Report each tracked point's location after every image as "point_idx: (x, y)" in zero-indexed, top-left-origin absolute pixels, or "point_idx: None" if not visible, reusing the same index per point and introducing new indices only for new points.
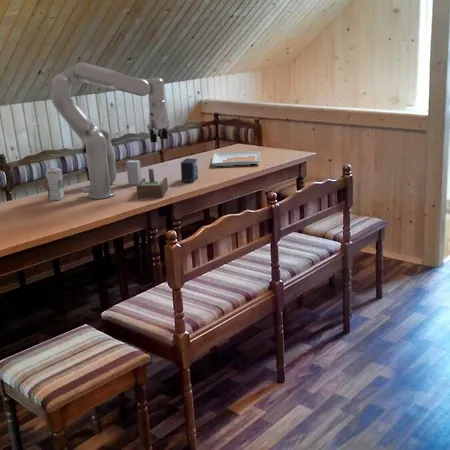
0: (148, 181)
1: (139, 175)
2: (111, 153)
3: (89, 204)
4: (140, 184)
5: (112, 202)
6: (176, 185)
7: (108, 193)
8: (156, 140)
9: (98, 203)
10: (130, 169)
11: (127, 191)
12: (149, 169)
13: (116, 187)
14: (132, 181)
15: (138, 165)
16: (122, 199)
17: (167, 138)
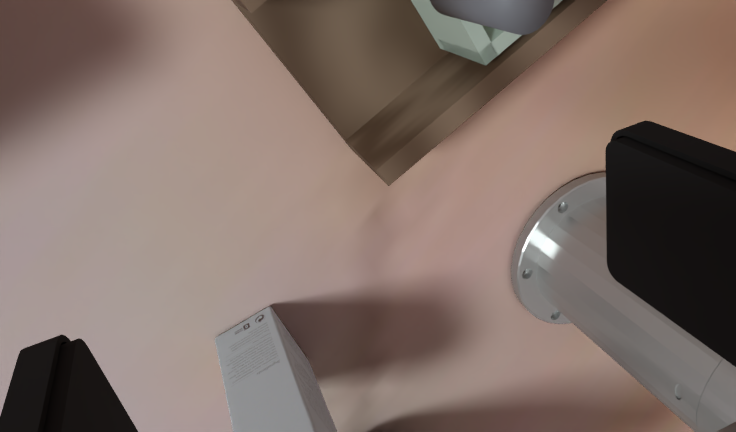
0: (465, 24)
1: (260, 362)
2: None
3: (729, 141)
4: (557, 15)
5: (673, 57)
6: (51, 16)
7: (598, 201)
8: (668, 134)
9: (705, 115)
10: (330, 428)
11: (439, 214)
12: (542, 7)
13: (397, 357)
14: (300, 354)
15: (279, 428)
16: (603, 61)
17: (50, 339)
